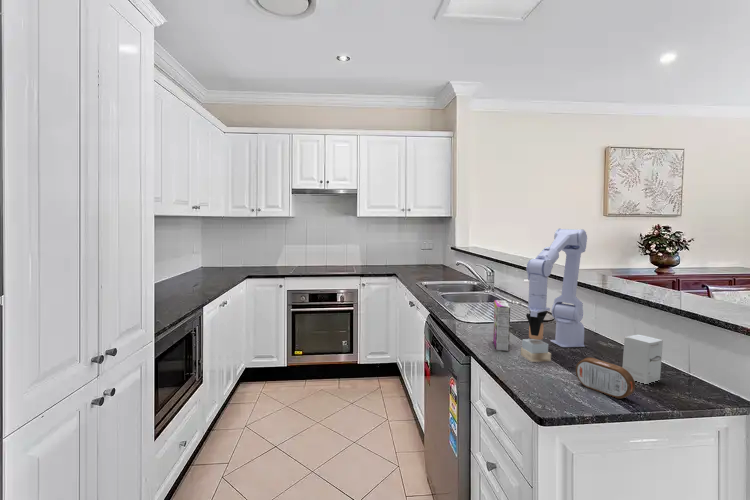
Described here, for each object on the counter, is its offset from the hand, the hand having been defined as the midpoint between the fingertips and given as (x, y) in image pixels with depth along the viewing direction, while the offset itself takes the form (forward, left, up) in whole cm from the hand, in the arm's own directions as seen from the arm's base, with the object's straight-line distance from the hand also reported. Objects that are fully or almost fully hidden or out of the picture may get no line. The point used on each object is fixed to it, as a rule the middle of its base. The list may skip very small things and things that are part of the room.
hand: (535, 333), depth 137 cm
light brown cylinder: (0, 0, -1) cm, 1 cm away
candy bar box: (+6, -13, -9) cm, 17 cm away
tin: (-4, +28, -9) cm, 30 cm away
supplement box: (-22, +21, -9) cm, 32 cm away
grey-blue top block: (0, 0, -6) cm, 6 cm away
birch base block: (0, 0, -9) cm, 9 cm away
